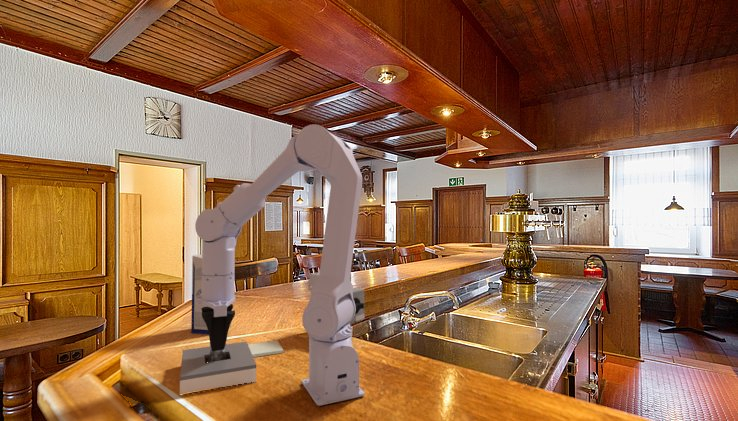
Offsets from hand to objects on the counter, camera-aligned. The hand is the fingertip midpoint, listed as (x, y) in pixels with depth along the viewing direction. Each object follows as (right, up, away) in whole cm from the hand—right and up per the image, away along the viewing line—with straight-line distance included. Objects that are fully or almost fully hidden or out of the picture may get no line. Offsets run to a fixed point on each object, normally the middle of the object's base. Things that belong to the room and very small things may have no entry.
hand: (217, 347), depth 68 cm
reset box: (0, -5, 0) cm, 5 cm away
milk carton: (-13, -6, +28) cm, 31 cm away
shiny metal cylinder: (0, -3, 0) cm, 3 cm away
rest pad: (+5, -5, +12) cm, 14 cm away
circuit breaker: (+21, -6, +24) cm, 32 cm away
